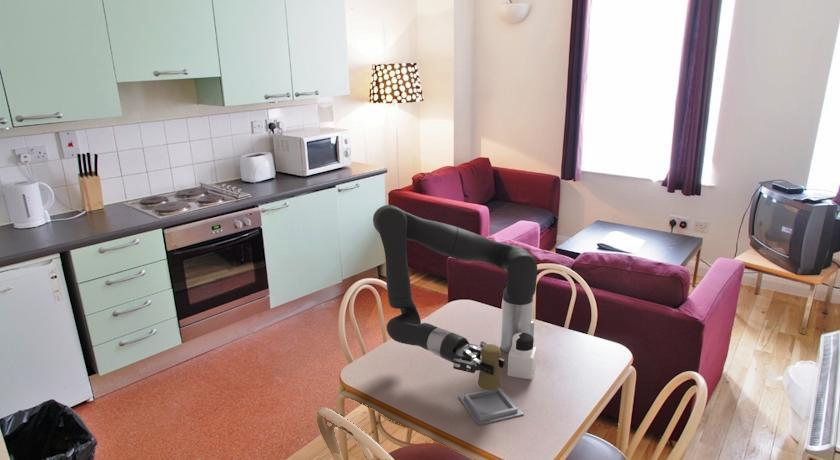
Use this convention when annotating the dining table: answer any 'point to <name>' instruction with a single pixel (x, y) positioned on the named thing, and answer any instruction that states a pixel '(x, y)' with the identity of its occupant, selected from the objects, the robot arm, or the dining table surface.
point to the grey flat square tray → (490, 406)
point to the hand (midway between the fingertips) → (499, 367)
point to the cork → (491, 357)
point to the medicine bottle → (522, 356)
